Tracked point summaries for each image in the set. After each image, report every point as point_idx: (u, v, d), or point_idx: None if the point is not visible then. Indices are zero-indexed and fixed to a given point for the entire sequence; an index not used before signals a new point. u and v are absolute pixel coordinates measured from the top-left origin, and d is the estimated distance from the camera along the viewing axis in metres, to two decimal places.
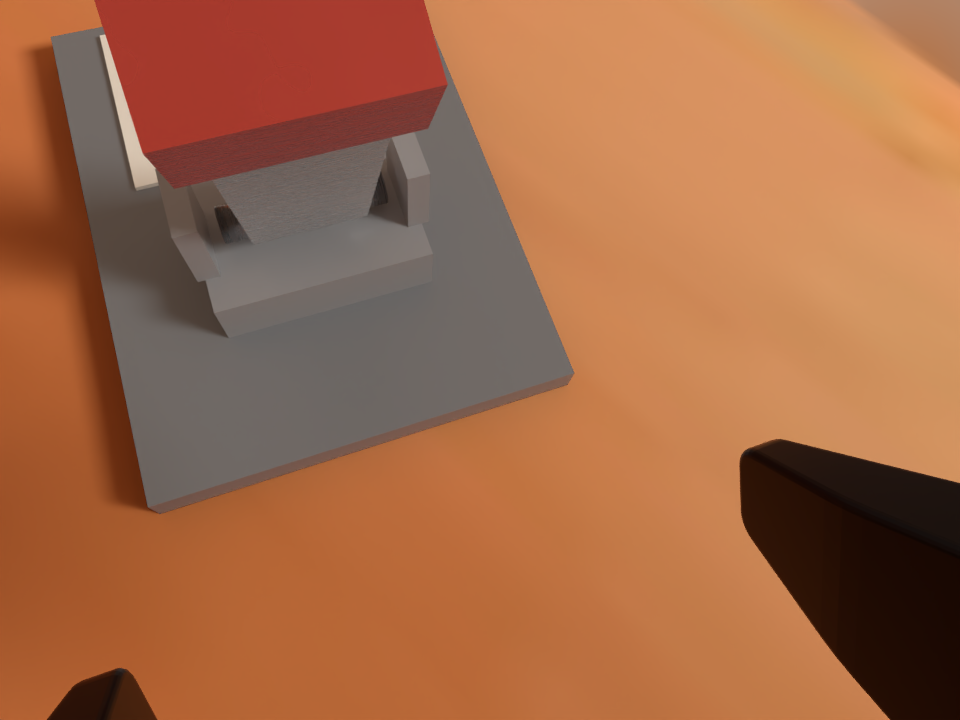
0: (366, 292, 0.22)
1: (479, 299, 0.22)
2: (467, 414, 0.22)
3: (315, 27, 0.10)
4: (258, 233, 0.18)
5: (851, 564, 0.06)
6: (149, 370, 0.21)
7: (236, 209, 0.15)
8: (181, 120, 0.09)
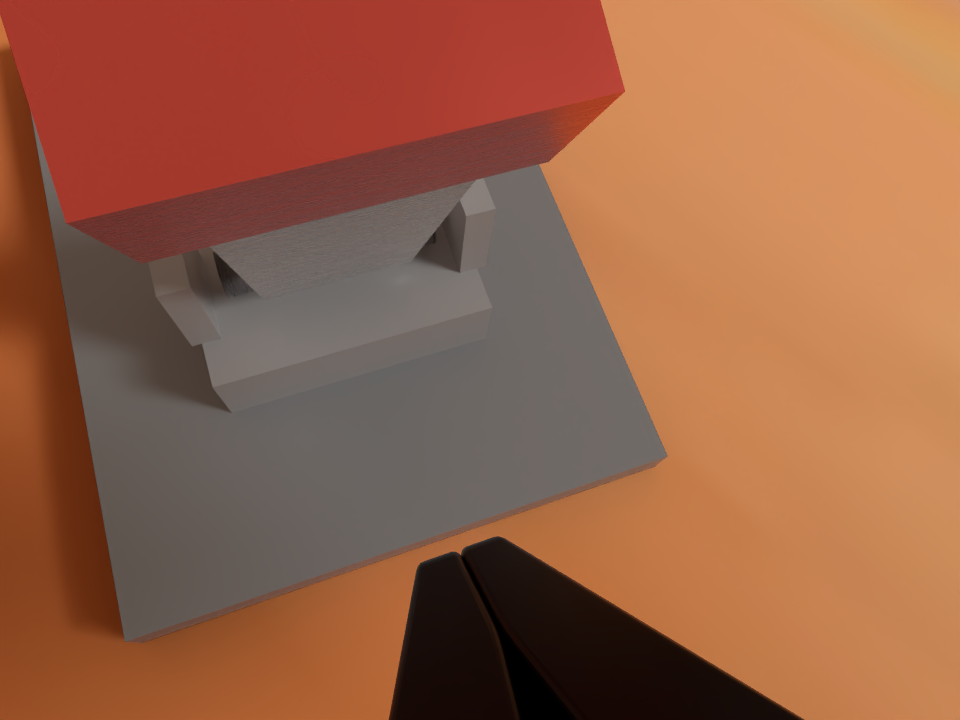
0: (404, 354, 0.17)
1: (545, 361, 0.18)
2: (532, 507, 0.17)
3: None
4: (271, 289, 0.13)
5: (520, 694, 0.06)
6: (130, 455, 0.16)
7: (242, 270, 0.10)
8: (142, 159, 0.05)
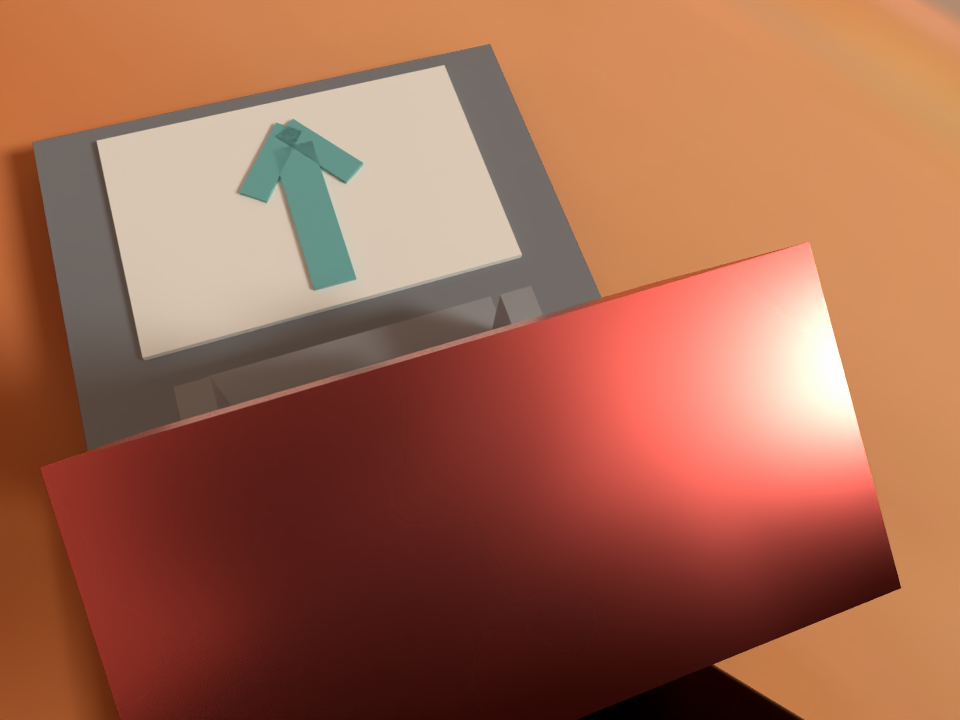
0: None
1: None
2: None
3: (607, 488, 0.04)
4: None
5: None
6: None
7: None
8: None
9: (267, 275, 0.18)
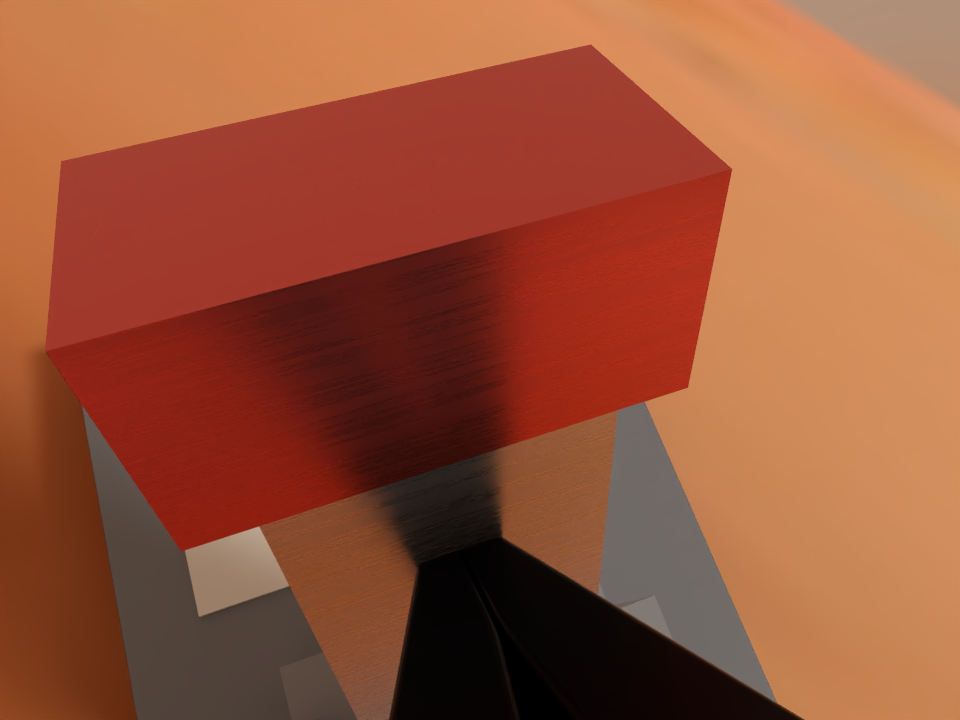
0: None
1: None
2: None
3: (446, 140, 0.05)
4: None
5: (520, 694, 0.06)
6: None
7: (348, 681, 0.08)
8: (154, 289, 0.04)
9: None
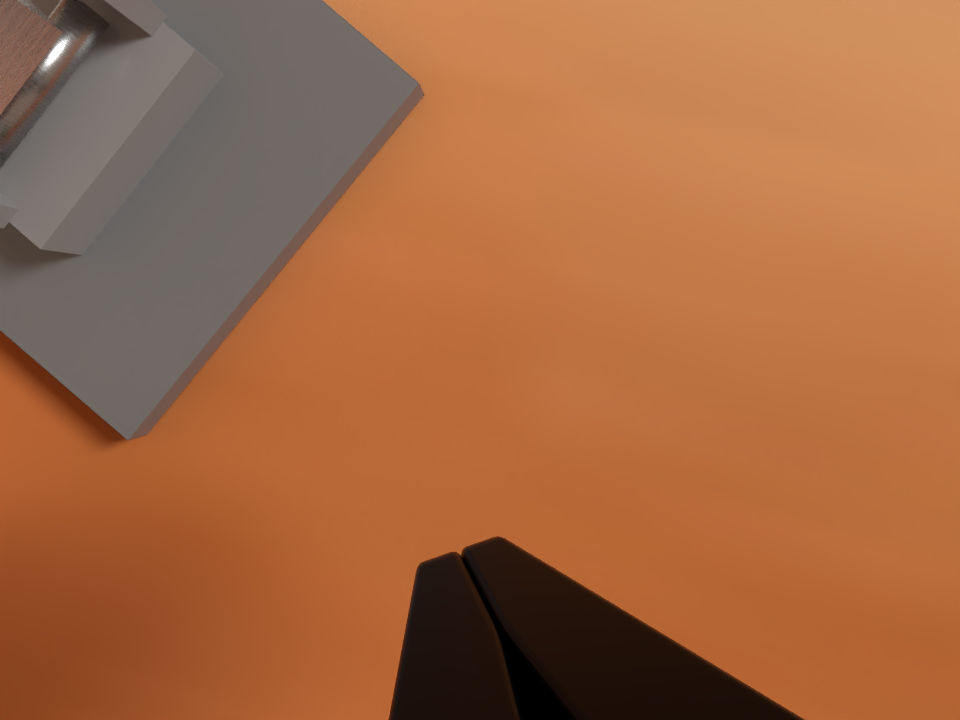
0: (168, 130, 0.19)
1: (281, 63, 0.19)
2: (345, 187, 0.20)
3: None
4: None
5: (520, 695, 0.06)
6: (39, 327, 0.20)
7: None
8: None
9: None
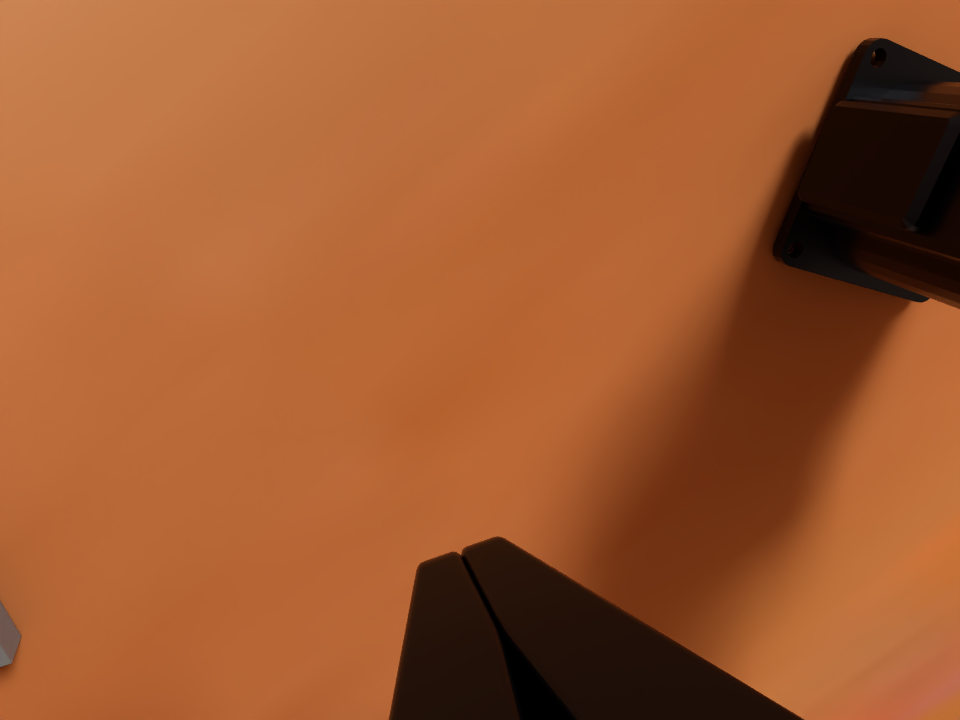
0: None
1: None
2: None
3: None
4: None
5: (520, 695, 0.06)
6: None
7: None
8: None
9: None
